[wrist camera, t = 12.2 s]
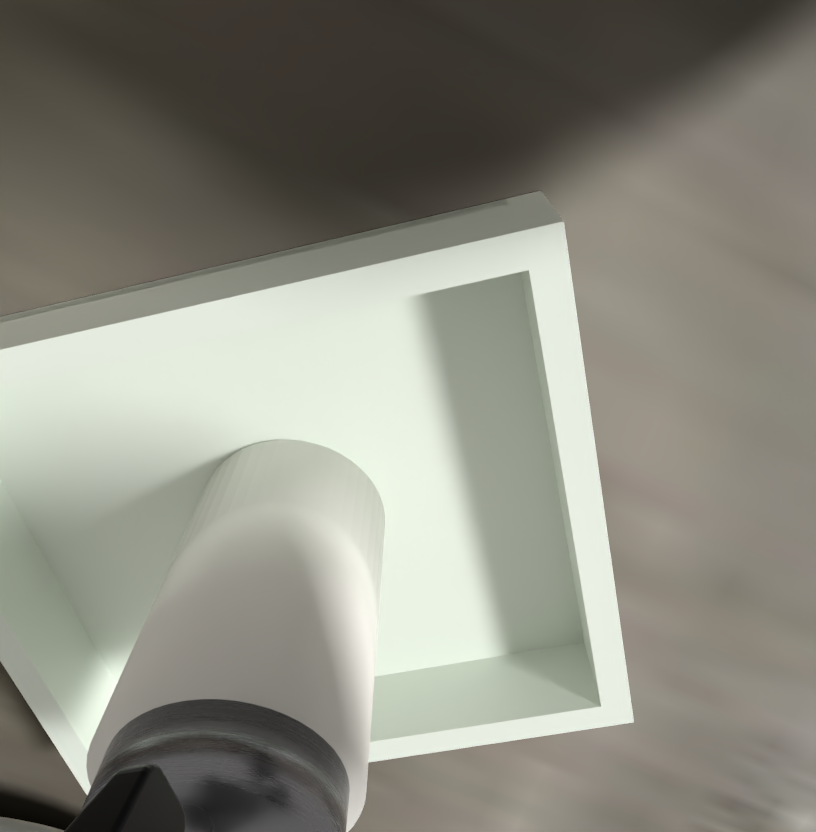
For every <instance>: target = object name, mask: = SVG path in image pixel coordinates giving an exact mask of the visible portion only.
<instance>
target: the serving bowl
mask: <svg viewBox="0 0 816 832" xmlns="http://www.w3.org/2000/svg"><path fill="white" fill-rule="evenodd" d="M0 832H64V830H61V829H57V828H54V827H50V826H46V825H42V824H38V823H33V822H28V821H23V820H18V819H12V818H6V817H0Z"/></svg>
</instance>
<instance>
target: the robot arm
mask: <svg viewBox="0 0 816 832" xmlns="http://www.w3.org/2000/svg"><path fill="white" fill-rule="evenodd" d="M64 832H185V814H184V810H183V807H182V804H181V803H180V801H179V799H178V797H177V795H176V794H175V792H174V790H173V788H172V787H171V785H170V783H169V781H168V780H167V778H166V776H165V774H164V773H163V771H162V769H161V768H160V767H159V766H157V765H156V764H154V763H148V764H141V765H134V766H128V767H124V768H122V769H120V770H119V771H118V772H116V773H115V774H114V775H113V776H112V777H111V779H110V780H109V781H108V782H107V783H106V784H105V785H104V787H103V788H102V789H101V790H100V791H99V792H98V793H97V794H96V796H95V797H94V798H93V799H92V800H91V801H90V802H89V804H88V805H87V806H86V807H85V808H84V809H83V810H82V812H81V813H80V814H79V815H78V816H77V817H76V818H75V819H74V821H73V822H72V823H71V824H70V825H69V826H68V827H67V829H66V830H65V831H64Z"/></svg>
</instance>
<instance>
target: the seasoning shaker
mask: <svg viewBox="0 0 816 832" xmlns="http://www.w3.org/2000/svg"><path fill="white" fill-rule="evenodd" d="M384 535H385V512H384V507H383V503H382V500H381V497H380V494H379V492H378V491H377V489H376V487H375V485H374V484H373V482H372V481H371V480H370V478H369V477H368V476H367V474H366V473H365V472H364V471H363V470H362V469H361V468H360V467H359V466H357V465H356V464H355V463H354V462H352V461H351V460H350V459H348V458H346V457H345V456H343V455H342V454H340V453H338V452H336V451H334V450H332V449H330V448H327V447H324V446H321V445H318V444H315V443H310V442H305V441H298V440H273V441H266V442H262V443H258V444H254V445H251V446H248V447H246V448H243V449H241V450H240V451H238V452H236V453H234V454H232V455H231V456H230V457H228V458H227V459H226V460H224V461H223V462H222V463H221V464H220V465H219V466H218V467H217V468H216V469H215V471H214V472H213V474H212V475H211V476H210V478H209V480H208V482H207V484H206V486H205V488H204V491H203V493H202V495H201V497H200V499H199V502H198V504H197V506H196V508H195V511H194V513H193V515H192V517H191V520H190V522H189V524H188V526H187V528H186V531H185V533H184V535H183V537H182V540H181V542H180V544H179V546H178V549H177V551H176V553H175V555H174V558H173V560H172V562H171V564H170V566H169V569H168V571H167V573H166V575H165V578H164V580H163V582H162V584H161V587H160V589H159V591H158V593H157V596H156V598H155V600H154V602H153V604H152V607H151V609H150V611H149V613H148V616H147V618H146V620H145V622H144V625H143V627H142V629H141V631H140V634H139V636H138V638H137V640H136V642H135V645H134V647H133V649H132V651H131V654H130V656H129V658H128V660H127V663H126V665H125V667H124V669H123V671H122V674H121V676H120V678H119V680H118V683H117V685H116V687H115V689H114V692H113V694H112V696H111V698H110V701H109V703H108V705H107V707H106V709H105V712H104V714H103V716H102V718H101V721H100V723H99V725H98V727H97V730H96V732H95V734H94V736H93V739H92V741H91V743H90V746H89V750H88V753H87V764H86V768H87V775H88V780H89V783H90V786H91V788H90V791H89V793H88V795H87V798H86V800H85V803H84V805H83V807H82V810H83V809H84V808H85V807H86V806H87V805H88V804H89V802H90V801H91V800H92V799H93V798H94V797H95V796H96V794H97V793H98V792H99V791H100V790H101V789H102V788H103V787H104V785H105V784H106V783H107V782H108V781H109V780H110V779H111V777H112V776H113V775H114V774H115V773H116V772H118V771H119V770H120V769H122V768H124V767H128V766H134V765H141V764H148V763H154V764H156V765H157V766H159V767H160V768H161V769H162V771H163V773H164V774H165V776H166V778H167V780H168V781H169V783H170V785H171V787H172V788H173V790H174V792H175V794H176V795H177V797H178V799H179V801H180V803H181V804H182V807H183V810H184V814H185V832H348V831H349V830H350V829H351V828H352V827H353V825H354V824H355V823H356V821H357V819H358V818H359V816H360V814H361V812H362V809H363V806H364V803H365V797H366V789H367V775H368V761H369V747H370V733H371V718H372V704H373V690H374V676H375V662H376V648H377V634H378V620H379V605H380V591H381V577H382V563H383V549H384ZM82 810H81V812H82ZM81 812H80V813H81Z"/></svg>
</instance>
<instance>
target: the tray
mask: <svg viewBox="0 0 816 832" xmlns="http://www.w3.org/2000/svg"><path fill="white" fill-rule="evenodd" d="M273 440H298V441H305V442H310V443H315V444H318V445H321V446H324V447H327V448H330V449H332V450H334V451H336V452H338V453H340V454H342V455H343V456H345V457H346V458H348V459H350V460H351V461H352V462H354V463H355V464H356V465H357V466H359V467H360V468H361V469H362V470H363V471H364V472H365V473H366V474H367V476H368V477H369V478H370V480H371V481H372V482H373V484H374V485H375V487H376V489H377V491H378V492H379V494H380V497H381V500H382V503H383V507H384V512H385V535H384V549H383V563H382V577H381V591H380V605H379V620H378V634H377V648H376V662H375V676H374V690H373V704H372V718H371V733H370V747H369V761H368V762H374V761H381V760H387V759H394V758H400V757H407V756H414V755H420V754H427V753H434V752H440V751H447V750H453V749H460V748H467V747H473V746H480V745H487V744H493V743H500V742H506V741H513V740H520V739H526V738H533V737H540V736H546V735H553V734H559V733H566V732H573V731H579V730H586V729H593V728H599V727H606V726H612V725H619V724H626V723H632V722H634V719H633V712H632V705H631V698H630V691H629V683H628V676H627V669H626V662H625V655H624V648H623V641H622V633H621V626H620V619H619V612H618V605H617V598H616V591H615V584H614V576H613V569H612V562H611V555H610V548H609V541H608V534H607V526H606V519H605V512H604V505H603V498H602V491H601V484H600V476H599V469H598V462H597V455H596V448H595V441H594V434H593V426H592V419H591V412H590V405H589V398H588V391H587V384H586V377H585V369H584V362H583V355H582V348H581V341H580V334H579V327H578V319H577V312H576V305H575V298H574V291H573V284H572V277H571V269H570V262H569V255H568V248H567V241H566V234H565V227H564V221H563V220H562V218H561V217H560V216H559V214H558V213H557V211H556V210H555V209H554V207H553V206H552V205H551V203H550V202H549V201H548V199H547V198H546V196H545V195H544V194H543V192H542V191H537V192H533V193H528V194H524V195H520V196H516V197H511V198H507V199H503V200H499V201H494V202H490V203H486V204H481V205H477V206H473V207H469V208H464V209H460V210H456V211H451V212H447V213H443V214H439V215H434V216H430V217H426V218H421V219H417V220H413V221H409V222H404V223H400V224H396V225H391V226H387V227H383V228H379V229H374V230H370V231H366V232H361V233H357V234H353V235H349V236H344V237H340V238H336V239H331V240H327V241H323V242H319V243H314V244H310V245H306V246H301V247H297V248H293V249H289V250H284V251H280V252H276V253H272V254H267V255H263V256H259V257H254V258H250V259H246V260H242V261H237V262H233V263H229V264H224V265H220V266H216V267H212V268H207V269H203V270H199V271H194V272H190V273H186V274H182V275H177V276H173V277H169V278H164V279H160V280H156V281H152V282H147V283H143V284H139V285H134V286H130V287H126V288H122V289H117V290H113V291H109V292H104V293H100V294H96V295H92V296H87V297H83V298H79V299H74V300H70V301H66V302H62V303H57V304H53V305H49V306H44V307H40V308H36V309H32V310H27V311H23V312H19V313H15V314H10V315H6V316H2V317H0V661H1V663H2V665H3V666H4V668H5V669H6V671H7V672H8V674H9V675H10V677H11V678H12V680H13V682H14V683H15V685H16V686H17V688H18V689H19V691H20V692H21V694H22V695H23V697H24V699H25V700H26V702H27V703H28V705H29V706H30V708H31V709H32V711H33V712H34V714H35V716H36V717H37V719H38V720H39V722H40V723H41V725H42V726H43V728H44V729H45V731H46V733H47V734H48V736H49V737H50V739H51V740H52V742H53V743H54V745H55V746H56V748H57V750H58V751H59V753H60V754H61V756H62V757H63V759H64V760H65V762H66V763H67V765H68V767H69V768H70V770H71V771H72V773H73V774H74V776H75V777H76V779H77V780H78V782H79V784H80V785H81V787H82V788H83V790H84V791H85V793H86V794H87V795H88V793H89V791H90V788H91V786H90V783H89V780H88V775H87V768H86V764H87V753H88V750H89V746H90V743H91V741H92V739H93V736H94V734H95V732H96V730H97V727H98V725H99V723H100V721H101V718H102V716H103V714H104V712H105V709H106V707H107V705H108V703H109V701H110V698H111V696H112V694H113V692H114V689H115V687H116V685H117V683H118V680H119V678H120V676H121V674H122V671H123V669H124V667H125V665H126V663H127V660H128V658H129V656H130V654H131V651H132V649H133V647H134V645H135V642H136V640H137V638H138V636H139V634H140V631H141V629H142V627H143V625H144V622H145V620H146V618H147V616H148V613H149V611H150V609H151V607H152V604H153V602H154V600H155V598H156V596H157V593H158V591H159V589H160V587H161V584H162V582H163V580H164V578H165V575H166V573H167V571H168V569H169V566H170V564H171V562H172V560H173V558H174V555H175V553H176V551H177V549H178V546H179V544H180V542H181V540H182V537H183V535H184V533H185V531H186V528H187V526H188V524H189V522H190V520H191V517H192V515H193V513H194V511H195V508H196V506H197V504H198V502H199V499H200V497H201V495H202V493H203V491H204V488H205V486H206V484H207V482H208V480H209V478H210V476H211V475H212V474H213V472H214V471H215V469H216V468H217V467H218V466H219V465H220V464H221V463H222V462H223V461H224V460H226V459H227V458H228V457H230V456H231V455H232V454H234V453H236V452H238V451H240V450H241V449H243V448H246V447H248V446H251V445H254V444H258V443H262V442H266V441H273Z"/></svg>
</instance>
